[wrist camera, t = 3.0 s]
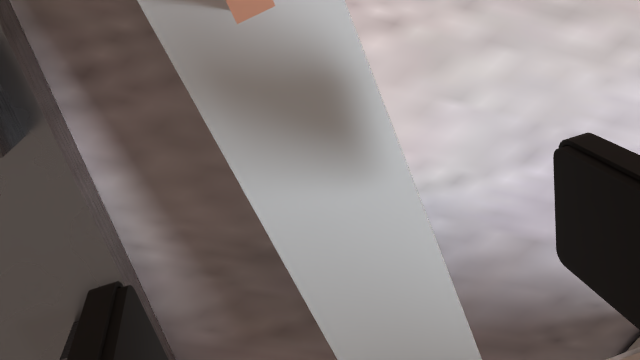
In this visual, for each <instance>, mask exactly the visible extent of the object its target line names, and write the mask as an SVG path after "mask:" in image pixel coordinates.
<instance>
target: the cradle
mask: <svg viewBox="0 0 640 360" xmlns="http://www.w3.org/2000/svg"><path fill="white" fill-rule="evenodd" d="M116 281H119V282H121V283H122V285H123V286H127V285H132V286H133V287H134V289H135V291H136V293H137V295H138V297H139V299H140V301H141V303H142V305H143V307H144V310H145V312H146V314H147V316H148V318H149V320H150V322H151V324H152V326H153V328H154V330H155V332H156V334H157V336H158V338H159V341H160V343H161V345H162V347H163V349H164V351H165V353H166V355H167V357H168V359H169V360H175V357H174V355H173V353H172V351H171V349H170V347H169V345H168V342H167V340H166V338H165V336H164V334H163V332H162V329H161V327H160V325H159V323H158V321H157V319H156V317H155V314H154V312H153V310H152V308H151V306H150V304H149V301H148V299H147V297H146V295H145V293H144V291H143V289H142V286H141V284H140V282H139V280H138V278H137V276H136V273H135V271H134V269H133V267H132V265H131V263H130V261H129V258H128V256H127V254H126V252H125V250H124V248H123V245H122V243H121V241H120V239H119V237H118V235H117V233H116V230H115V228H114V226H113V224H112V222H111V220H110V217H109V215H108V213H107V211H106V209H105V207H104V205H103V202H102V200H101V198H100V196H99V194H98V192H97V189H96V187H95V185H94V183H93V181H92V179H91V177H90V174H89V172H88V170H87V168H86V166H85V164H84V161H83V159H82V157H81V155H80V153H79V151H78V149H77V146H76V144H75V142H74V140H73V138H72V136H71V133H70V131H69V129H68V127H67V125H66V123H65V121H64V118H63V116H62V114H61V112H60V110H59V108H58V105H57V103H56V101H55V99H54V97H53V95H52V93H51V90H50V88H49V86H48V84H47V82H46V80H45V77H44V75H43V73H42V71H41V69H40V67H39V65H38V62H37V60H36V58H35V56H34V54H33V52H32V49H31V47H30V45H29V43H28V41H27V39H26V37H25V34H24V32H23V30H22V28H21V26H20V24H19V21H18V19H17V17H16V15H15V13H14V11H13V9H12V6H11V4H10V2H9V0H0V360H67V358H68V354H69V351H70V348H71V345H72V342H73V338H74V335H75V332H76V329H77V326H78V322H79V319H80V316H81V313H82V310H83V306H84V303H85V300H86V297H87V294H88V292H89V290H91V289H94V288H97V287H101V286H104V285H107V284H110V283H113V282H116Z"/></svg>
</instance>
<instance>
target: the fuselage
mask: <svg viewBox="0 0 640 360" xmlns="http://www.w3.org/2000/svg"><path fill="white" fill-rule="evenodd" d="M137 1H138V3H139V5H140V7H141V8H142V10H143V12H144V14H145V15H146V17H147V19H148V21H149V23H150V24H151V26H152V28H153V30H154V32H155V33H156V35H157V37H158V39H159V41H160V42H161V44H162V46H163V48H164V50H165V51H166V53H167V55H168V57H169V59H170V60H171V62H172V64H173V66H174V67H175V69H176V71H177V73H178V75H179V76H180V78H181V80H182V82H183V84H184V85H185V87H186V89H187V91H188V93H189V94H190V96H191V98H192V100H193V102H194V103H195V105H196V107H197V109H198V111H199V112H200V114H201V116H202V118H203V119H204V121H205V123H206V125H207V127H208V128H209V130H210V132H211V134H212V136H213V137H214V139H215V141H216V143H217V145H218V146H219V148H220V150H221V152H222V154H223V155H224V157H225V159H226V161H227V163H228V164H229V166H230V168H231V170H232V172H233V173H234V175H235V177H236V179H237V180H238V182H239V184H240V186H241V188H242V189H243V191H244V193H245V195H246V197H247V198H248V200H249V202H250V204H251V206H252V207H253V209H254V211H255V213H256V215H257V216H258V218H259V220H260V222H261V224H262V225H263V227H264V229H265V231H266V232H267V234H268V236H269V238H270V240H271V241H272V243H273V245H274V247H275V249H276V250H277V252H278V254H279V256H280V258H281V259H282V261H283V263H284V265H285V267H286V268H287V270H288V272H289V274H290V276H291V277H292V279H293V281H294V283H295V284H296V286H297V288H298V290H299V292H300V293H301V295H302V297H303V299H304V301H305V302H306V304H307V306H308V308H309V310H310V311H311V313H312V315H313V317H314V319H315V320H316V322H317V324H318V326H319V328H320V329H321V331H322V333H323V335H324V336H325V338H326V340H327V342H328V344H329V345H330V347H331V349H332V351H333V353H334V354H335V356H336V358H337V360H482V358H481V355H480V353H479V350H478V347H477V345H476V342H475V340H474V337H473V334H472V332H471V329H470V327H469V324H468V321H467V319H466V316H465V314H464V311H463V308H462V306H461V303H460V300H459V298H458V295H457V293H456V290H455V287H454V285H453V282H452V280H451V277H450V274H449V272H448V269H447V266H446V264H445V261H444V259H443V256H442V253H441V251H440V248H439V246H438V243H437V240H436V238H435V235H434V233H433V230H432V227H431V225H430V222H429V219H428V217H427V214H426V212H425V209H424V206H423V204H422V201H421V199H420V196H419V193H418V191H417V188H416V185H415V183H414V180H413V178H412V175H411V172H410V170H409V167H408V165H407V162H406V159H405V157H404V154H403V152H402V149H401V146H400V144H399V141H398V138H397V136H396V133H395V131H394V128H393V125H392V123H391V120H390V118H389V115H388V112H387V110H386V107H385V105H384V102H383V99H382V97H381V94H380V91H379V89H378V86H377V84H376V81H375V78H374V76H373V73H372V71H371V68H370V65H369V63H368V60H367V57H366V55H365V52H364V50H363V47H362V44H361V42H360V39H359V37H358V34H357V31H356V29H355V26H354V24H353V21H352V18H351V16H350V13H349V10H348V8H347V5H346V3H345V0H137Z"/></svg>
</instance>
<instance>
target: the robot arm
mask: <svg viewBox="0 0 640 360" xmlns="http://www.w3.org/2000/svg"><path fill="white" fill-rule="evenodd" d="M553 159H554V190H555V221H556V250H557V254H558V257H559V259H560V261H561V262H562V264H563V265H564V266H565V267H566V268H567V269H569V270H570V271H571V272H572V273H573V274H575V275H576V276H577V277H578V278H579V279H580V280H582V281H583V282H584V283H585V284H586V285H588V286H589V287H590V288H591V289H592V290H593V291H595V292H596V293H597V294H598V295H599V296H600V297H602V298H603V299H604V300H605V301H606V302H608V303H609V304H610V305H611V306H612V307H613V308H615V309H616V310H617V311H618V312H619V313H621V314H622V315H623V316H624V317H625V318H626V319H628V320H629V321H630V322H631V323H632V324H633V325H635V326H636V327H637V328H638V329H639V330H640V155H638V154H636V153H634V152H631V151H629V150H627V149H625V148H623V147H620V146H618V145H616V144H614V143H612V142H610V141H607V140H605V139H603V138H601V137H599V136H596V135H594V134H592V133H585V134H582V135H578V136H575V137H572V138H569V139H566V140H563V141H562V142H561V143H560V145H559V149H556V150H555V152H554V157H553ZM67 360H169V359H168V357H167V355H166V353H165V351H164V349H163V347H162V345H161V343H160V341H159V338H158V336H157V334H156V332H155V330H154V328H153V326H152V324H151V322H150V320H149V318H148V316H147V314H146V312H145V310H144V307H143V305H142V303H141V301H140V299H139V297H138V295H137V293H136V291H135V289H134V287H133V286H132V285H127V286H123V285H122V283H121V282H119V281H116V282H113V283H110V284H107V285H104V286H101V287H97V288H94V289H91V290H89V292H88V294H87V297H86V300H85V303H84V306H83V310H82V313H81V316H80V319H79V322H78V326H77V329H76V332H75V335H74V338H73V342H72V345H71V348H70V351H69V354H68V358H67ZM605 360H640V337H639V338H638V339H637V340H636V341H635V342H634V343H633V344H632V345H631V347H630V348H629V349H628V350H627V351H626V352H625V353H622V354H619V355H617V356H614V357H611V358H608V359H605Z"/></svg>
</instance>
